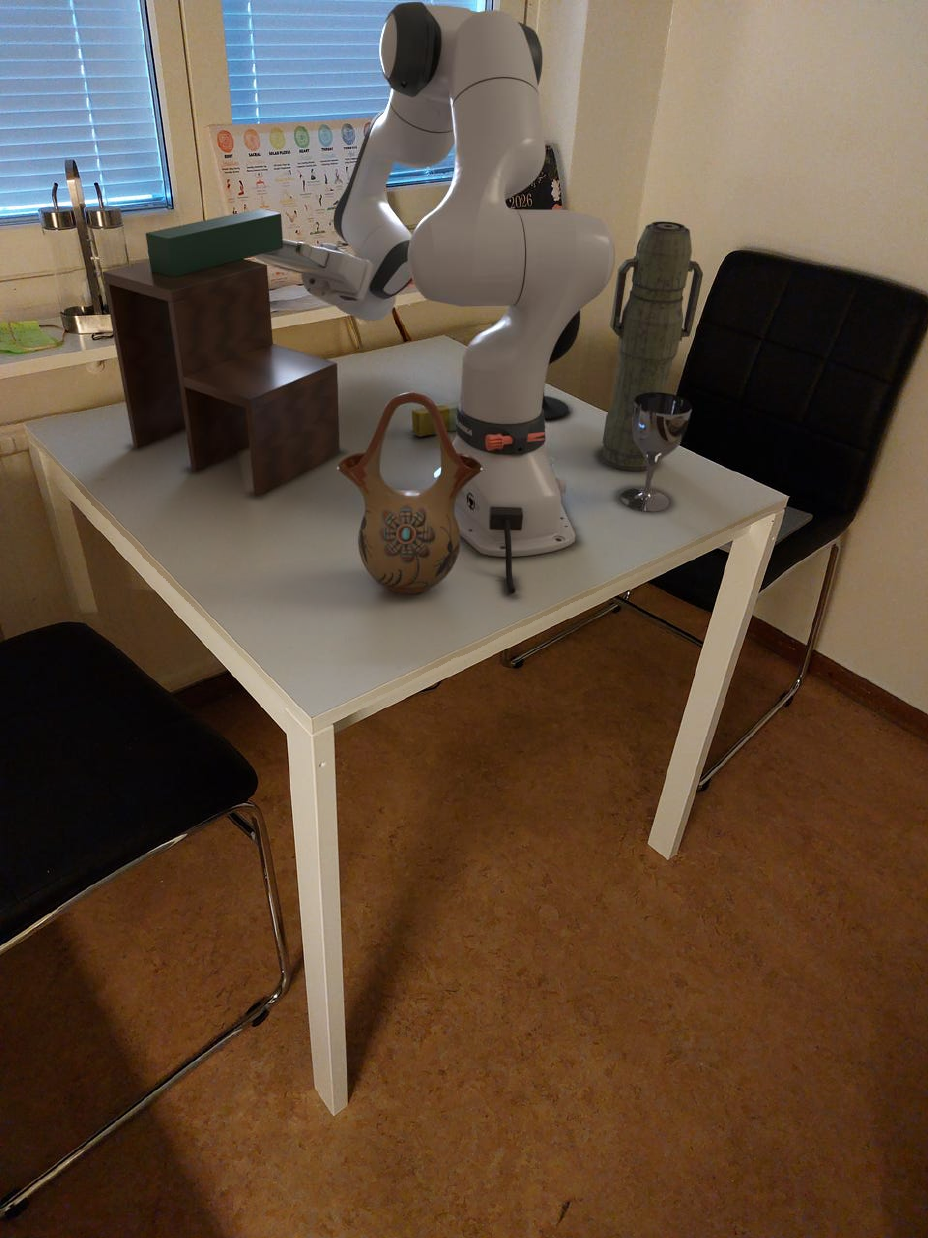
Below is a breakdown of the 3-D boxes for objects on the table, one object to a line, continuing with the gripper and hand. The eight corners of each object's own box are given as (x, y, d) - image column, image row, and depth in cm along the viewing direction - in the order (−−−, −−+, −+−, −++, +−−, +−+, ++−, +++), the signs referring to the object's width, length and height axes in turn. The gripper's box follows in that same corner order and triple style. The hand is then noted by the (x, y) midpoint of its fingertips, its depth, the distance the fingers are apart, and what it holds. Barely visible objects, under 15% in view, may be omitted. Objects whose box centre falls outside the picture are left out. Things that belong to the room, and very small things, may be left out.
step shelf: (219, 410, 150) (200, 247, 135) (340, 453, 139) (334, 281, 124) (133, 446, 137) (101, 271, 122) (259, 496, 127) (241, 311, 111)
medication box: (472, 421, 152) (472, 397, 150) (481, 425, 150) (481, 402, 148) (411, 432, 146) (410, 408, 144) (419, 437, 144) (419, 413, 142)
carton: (262, 243, 139) (259, 208, 136) (283, 248, 137) (281, 213, 134) (150, 271, 123) (145, 232, 121) (173, 277, 122) (168, 238, 119)
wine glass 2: (608, 489, 134) (624, 394, 125) (656, 484, 136) (674, 390, 127) (632, 515, 128) (650, 416, 119) (681, 509, 130) (703, 412, 121)
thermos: (584, 447, 145) (616, 217, 125) (653, 446, 147) (696, 218, 127) (599, 472, 138) (636, 232, 118) (672, 470, 140) (720, 233, 120)
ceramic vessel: (471, 565, 115) (483, 377, 100) (478, 606, 107) (492, 409, 93) (342, 566, 113) (335, 375, 98) (340, 608, 106) (333, 407, 91)
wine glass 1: (540, 425, 152) (553, 306, 140) (497, 405, 158) (506, 289, 146) (581, 411, 158) (596, 295, 146) (538, 392, 164) (550, 280, 152)
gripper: (286, 243, 154) (232, 210, 142) (381, 265, 146) (333, 232, 133) (276, 279, 155) (222, 250, 143) (370, 303, 147) (320, 274, 134)
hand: (276, 241), depth 138 cm, fingers open, 8 cm apart
